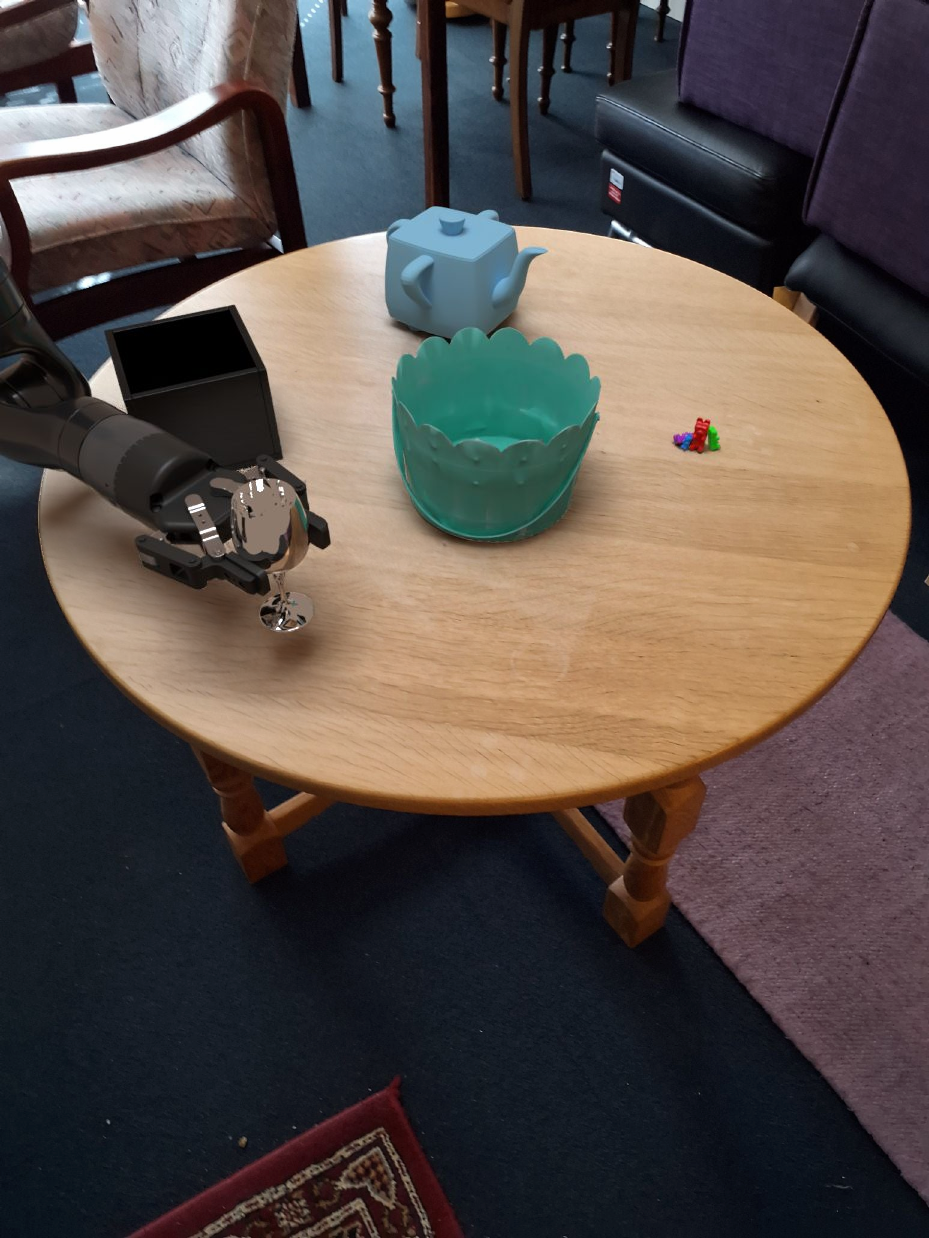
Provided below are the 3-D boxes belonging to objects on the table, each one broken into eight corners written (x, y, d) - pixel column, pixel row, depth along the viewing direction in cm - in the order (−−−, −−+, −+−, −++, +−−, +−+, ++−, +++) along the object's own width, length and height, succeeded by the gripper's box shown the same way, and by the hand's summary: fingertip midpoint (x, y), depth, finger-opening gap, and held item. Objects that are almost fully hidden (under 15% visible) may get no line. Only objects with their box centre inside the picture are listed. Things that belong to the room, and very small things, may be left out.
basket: (612, 467, 93) (629, 357, 84) (538, 576, 83) (547, 464, 73) (452, 416, 99) (450, 309, 90) (363, 512, 89) (351, 401, 79)
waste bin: (153, 490, 91) (123, 400, 83) (132, 418, 100) (103, 330, 92) (283, 458, 95) (266, 369, 87) (252, 391, 103) (234, 304, 95)
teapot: (392, 360, 107) (384, 251, 97) (383, 293, 118) (375, 188, 108) (541, 350, 109) (549, 241, 99) (519, 284, 120) (524, 180, 110)
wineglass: (237, 626, 72) (207, 512, 63) (273, 579, 76) (250, 466, 67) (300, 647, 71) (278, 534, 62) (334, 598, 74) (318, 485, 65)
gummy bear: (669, 447, 96) (674, 419, 93) (676, 433, 97) (682, 406, 95) (715, 459, 94) (722, 432, 92) (721, 445, 96) (728, 418, 93)
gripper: (61, 482, 67) (215, 579, 60) (207, 396, 75) (358, 473, 68) (91, 555, 72) (235, 652, 66) (224, 468, 80) (365, 546, 73)
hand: (297, 561), depth 67 cm, fingers closed on wineglass, 5 cm apart
